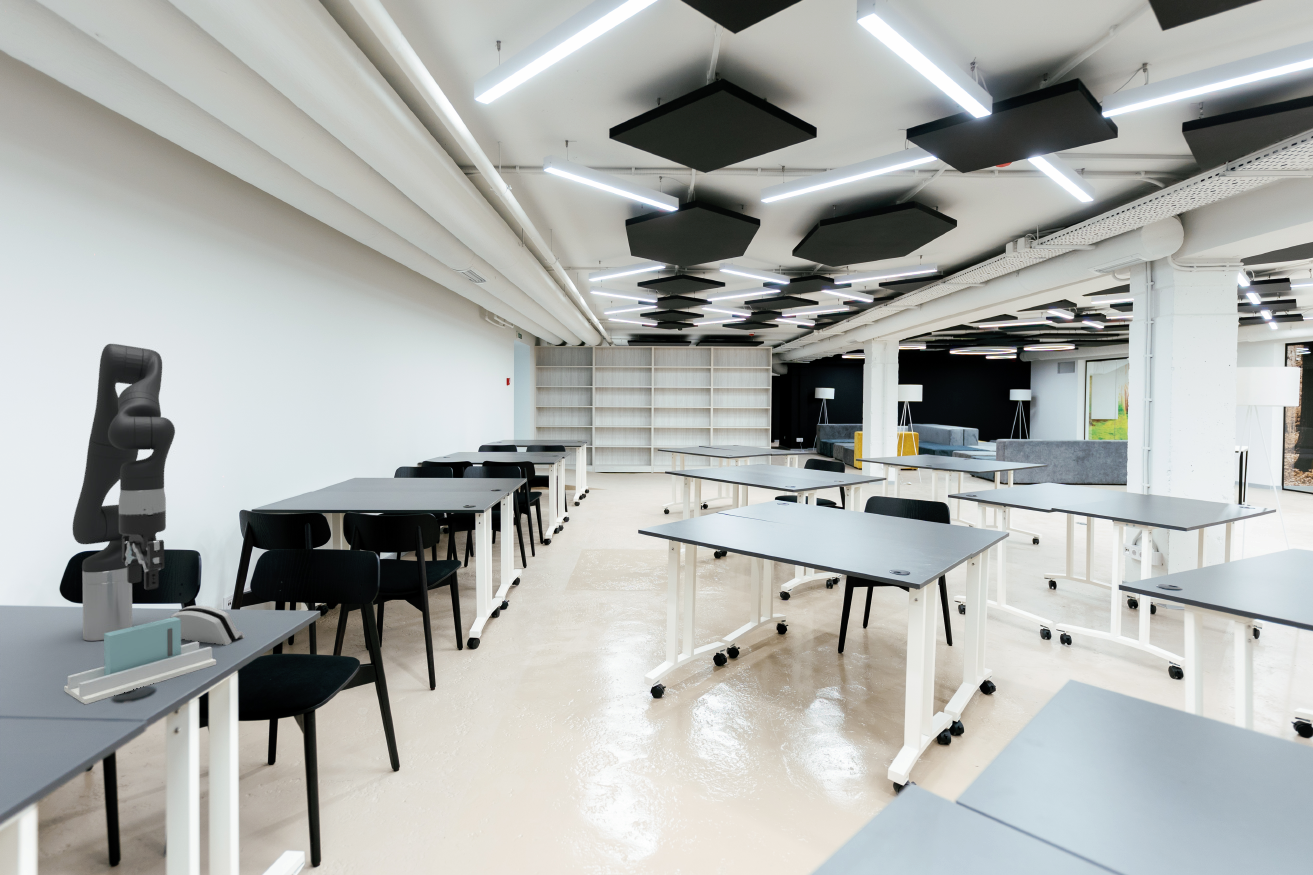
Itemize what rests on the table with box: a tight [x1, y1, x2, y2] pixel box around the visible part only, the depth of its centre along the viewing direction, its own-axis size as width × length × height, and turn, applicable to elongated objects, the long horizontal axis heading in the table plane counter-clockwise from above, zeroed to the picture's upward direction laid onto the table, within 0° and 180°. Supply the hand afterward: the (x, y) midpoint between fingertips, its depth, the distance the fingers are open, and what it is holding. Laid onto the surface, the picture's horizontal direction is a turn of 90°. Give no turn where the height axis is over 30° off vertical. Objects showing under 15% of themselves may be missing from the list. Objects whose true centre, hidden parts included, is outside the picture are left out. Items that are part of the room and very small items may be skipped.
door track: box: [63, 641, 217, 705], centre depth 125 cm, size 11×22×4 cm, turn 150°
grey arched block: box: [169, 605, 246, 646], centre depth 146 cm, size 17×5×10 cm, turn 76°
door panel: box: [103, 617, 182, 676], centre depth 125 cm, size 3×12×10 cm, turn 150°
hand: (142, 585), depth 124 cm, fingers open, 8 cm apart
